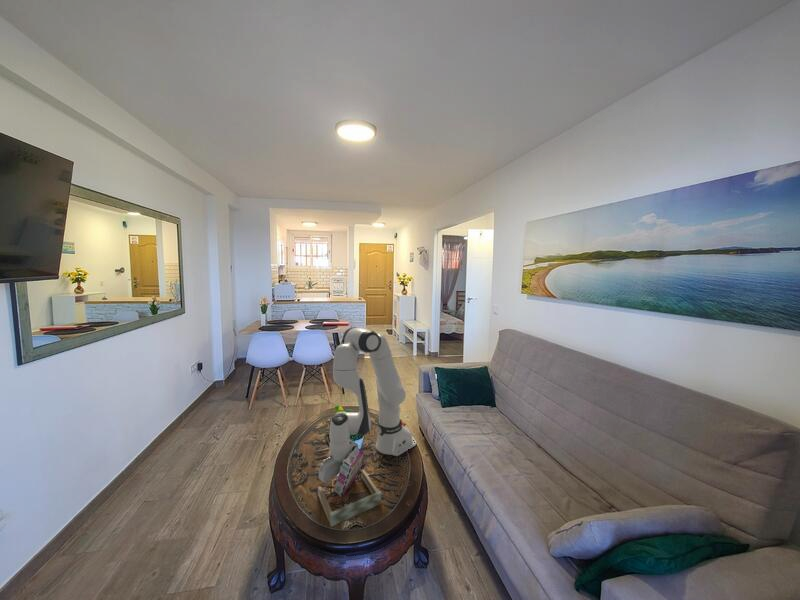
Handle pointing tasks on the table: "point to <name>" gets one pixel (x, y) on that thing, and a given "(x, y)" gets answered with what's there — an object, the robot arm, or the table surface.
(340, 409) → the fruit basket
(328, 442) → the phone
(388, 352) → the robot arm
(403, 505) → the table surface
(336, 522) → the dock
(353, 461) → the candy bar box
